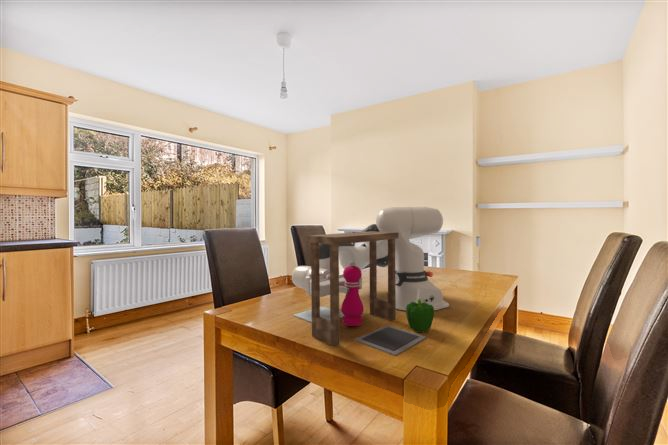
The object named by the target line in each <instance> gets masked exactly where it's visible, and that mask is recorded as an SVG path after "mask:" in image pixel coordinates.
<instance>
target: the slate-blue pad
mask: <svg viewBox="0 0 668 445" xmlns="http://www.w3.org/2000/svg"><path fill="white" fill-rule="evenodd" d="M292 315H293V317H296V318H299V319H300V320H303V321H306V322H309V323H311V324H312V308H311V309H308V310H305V311H304V310H303V311H301V312H298V313H295V314H292ZM343 316H345V315H344V314H343V313H342V311H339V319H343ZM320 317H323V318H326V319H329V320H330V307H327V306H321V305H320Z"/></svg>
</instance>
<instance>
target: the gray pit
mask: <svg viewBox="0 0 668 445" xmlns="http://www.w3.org/2000/svg"><path fill="white" fill-rule="evenodd" d="M425 339H427V336H425V335H421V334H418V333H417V332H416V333H415V332H412V331H408V330H404V329H402V328H398V327H395V326H393V325H392V326H391V325H390V324H389V325H388V324H386V325H383V326H381V327H379V328H376V329H375V330H374V329H373V331H370V332H368V333H365V334H363V335H361V336H359V337H356V338H354V339H353V340H354V341H355V342H357V343H360V344H363V345H366V346H368V347H371V348H373V349H376V350H379V351H381V352H384V353H387V354H389V355H392V356H395V357H396V356H398V355H399V354H401V353H403V352H405V351H407V350H408V349H410V348H411V347H413V346H415V345H417V344H419V343H421V342H423V340H425Z"/></svg>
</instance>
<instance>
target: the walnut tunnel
mask: <svg viewBox="0 0 668 445" xmlns="http://www.w3.org/2000/svg"><path fill="white" fill-rule="evenodd" d="M306 238H307V239H306V240H307V242H306V243H310V266H311V295H312V296H311V309H312V323H311V337H313V338H315V339H317V340H320V341H323V342H325V343H327V344H329V345H332V346H334V347H337V346H340V318H339V312H340V293H339V276H340V265H339V264H340V260H339V245H340V244H349V243H352V244H356V243H357V244H358V243H364V242H368V241H369V260H370V263H369V316H374V317H378V318H381V319H384V320H388V321H391V322H395V321H396V319H397V318H396V314H397V313H396V310H397V309H396V290H395V239H397V238H399V232H374V231H369V232H362V231H357V232H354V231H353V232H345V233H344V232H343V233H329V234H312V235H307V237H306ZM378 240H388V267H387V300H386V299H381V298H378V296H377V295H378V294H377V293H378V290H377V288H378V286H377V285H378V283H377V282H378V281H377V278H378V276H377V275H378V274H377V273H378V272H377V271H378V269H377V258H376V241H378ZM319 243H320V244H330V295H329V302H330V303H329V309H330V320H329V319H326V318H323V317H320V307H321V301H320V300H321V297H320V269H319Z"/></svg>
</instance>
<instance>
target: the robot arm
mask: <svg viewBox="0 0 668 445" xmlns="http://www.w3.org/2000/svg"><path fill="white" fill-rule="evenodd" d="M443 225H444V218H443V214H442V212H440V210H439V209H437V208H434V207H430V206H429V207H427V206H391V207H388V208H387V207H386V208H382V209H380V210H379V212H377V215H376V217H375V223H372V224H369V225H366V226H365V227H364V228H363V229H362V231H361V232H369V231H374V232H399V238H397V239H395V290H396V310H400V311H405V312H406V307H407V304H410V303H411V302H415V303H418V299H421V303H423V302H425V303H427V304H428V305H432V306H433V308H434V311H437V310H438V311H439V310H442V309H447V308H450V304H449V302H448V301H445V300H444V298H443V292H442V290H441V289H440V288H439V287H438V286H437V285H435V284H434V283H433V282H432V281H430V280H429V278H432V277H434V273H433V272H432V271H428V270H427V271H426V270H425V253H424V250H423V248H421V247H420V246H419V245H417V244H415V243H413V242H411V240H412V239H417V238H420V237H423V236H427V235H433V234H438V233H439V232H440V231H441V229H442V228H443ZM363 243H364V245H365V246H363V245H362V246H361V245H359V246H358V245H356V246H355V245H354V243H349V244H340V245H339V264H340V266H341V268H342V269H343V270H344V269H345V268H346V267H348V266H350V262H351V261H354V262H355V265H354V266H357V267H359V268H360V270H361V271H362V270H364V269H365V268H366V267H367V266H368V265H370V260H369V241H368V242H363ZM376 258H377V266H378V267H380V268H386V267H387V268H388V240H378V241H376ZM319 269H320V298H322V297H326V296H330V244H320V243H319ZM428 277H429V278H428ZM291 281H292V283H293V284H294V285H295V286H296V287H297V288H300V289H302V290H305V293H306V294H305V296H308V297H312V295H311V265H297V266H296V267H294V269H293V270H292V273H291ZM345 281H346V280H345V278H344V277H343V274H339V294H341V293H343V294H346V293H348V292H349V287H346V286H345ZM359 281H360V286H359V289H358V290H359V291H360V290H362V288H363V277H362V276H361V278H360V279H359Z"/></svg>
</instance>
